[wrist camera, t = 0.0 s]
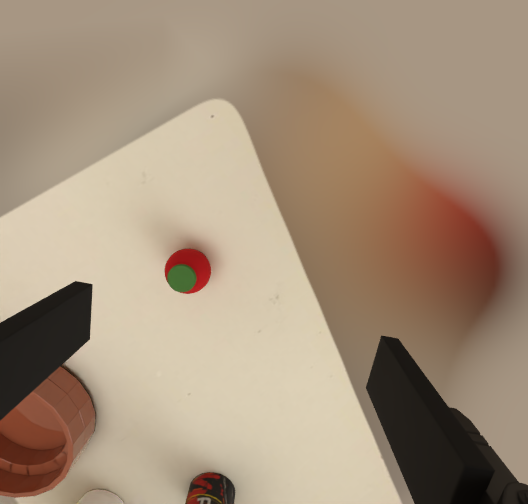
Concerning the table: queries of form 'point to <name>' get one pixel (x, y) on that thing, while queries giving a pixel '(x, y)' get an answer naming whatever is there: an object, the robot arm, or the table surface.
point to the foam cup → (100, 498)
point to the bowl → (44, 436)
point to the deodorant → (211, 490)
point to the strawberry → (187, 271)
